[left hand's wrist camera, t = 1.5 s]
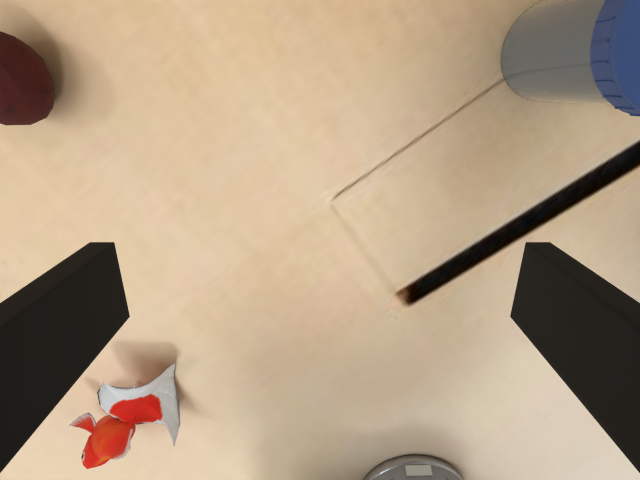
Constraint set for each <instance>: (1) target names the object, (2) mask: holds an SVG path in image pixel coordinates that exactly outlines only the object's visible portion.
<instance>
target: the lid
mask: <svg viewBox="0 0 640 480" xmlns="http://www.w3.org/2000/svg"><path fill="white" fill-rule="evenodd" d="M590 44H591V45H590V65H591V70H592V74H593V78H594V80H595V81H594V83H596V85H597V87H598V89H599V91H600V92H601V94H602V95H603V98H605V99H606V100H607V101H608V102H609V103H611V104H612V105H613V106H614V107H615V109H619V110H621V111H623V112H626V113H629V114H630V115H631V116H640V0H605V2H604V4H603V6H602V8H601V10H600V12H599V15H598V17H597V20H596V21H595V26H594V30H593V33H592V39H591V42H590Z"/></svg>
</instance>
